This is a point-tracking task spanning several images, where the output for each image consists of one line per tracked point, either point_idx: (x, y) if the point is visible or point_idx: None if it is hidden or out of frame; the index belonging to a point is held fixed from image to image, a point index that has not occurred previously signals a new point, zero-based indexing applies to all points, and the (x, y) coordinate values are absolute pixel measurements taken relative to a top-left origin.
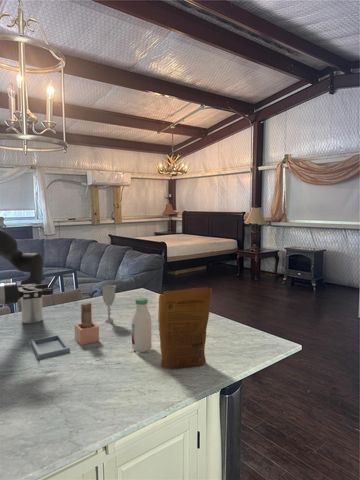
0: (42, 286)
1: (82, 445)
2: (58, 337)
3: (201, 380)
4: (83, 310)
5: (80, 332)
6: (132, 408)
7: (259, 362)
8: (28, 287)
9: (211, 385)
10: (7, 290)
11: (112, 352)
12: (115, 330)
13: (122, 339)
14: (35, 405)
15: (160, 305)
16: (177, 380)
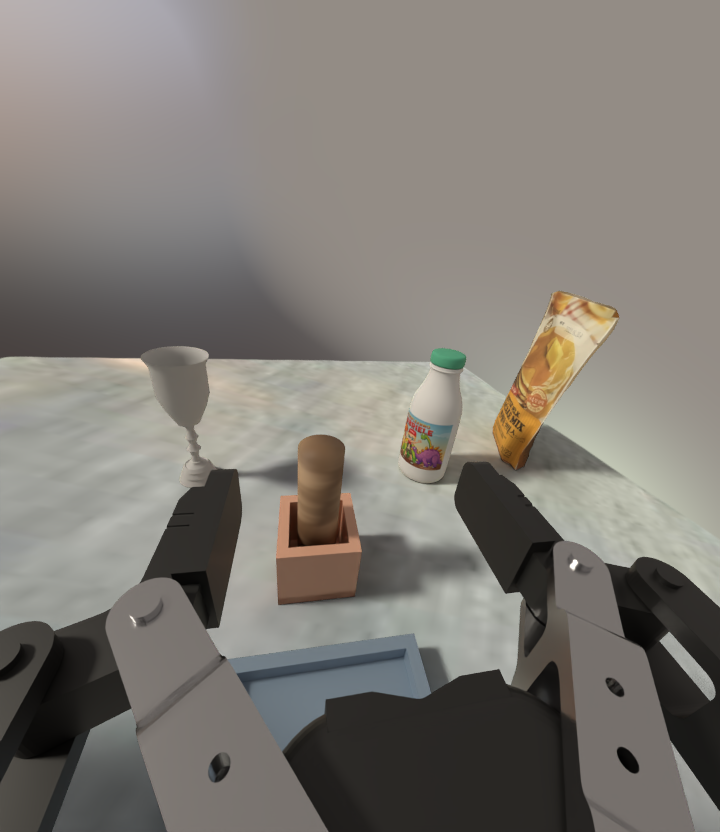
0: (225, 532)
1: None
2: (253, 671)
3: (563, 448)
4: (336, 478)
5: (360, 557)
6: (710, 559)
7: (499, 394)
8: (618, 820)
9: (577, 446)
10: None
11: (427, 522)
12: (270, 477)
13: (347, 482)
14: None
15: (599, 346)
16: (569, 469)
